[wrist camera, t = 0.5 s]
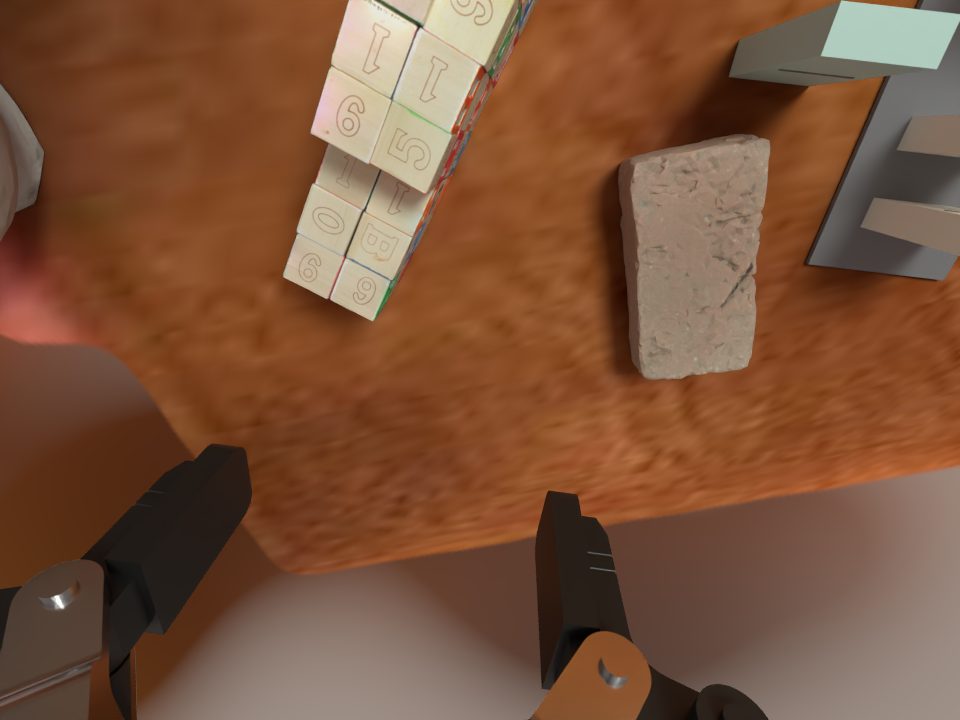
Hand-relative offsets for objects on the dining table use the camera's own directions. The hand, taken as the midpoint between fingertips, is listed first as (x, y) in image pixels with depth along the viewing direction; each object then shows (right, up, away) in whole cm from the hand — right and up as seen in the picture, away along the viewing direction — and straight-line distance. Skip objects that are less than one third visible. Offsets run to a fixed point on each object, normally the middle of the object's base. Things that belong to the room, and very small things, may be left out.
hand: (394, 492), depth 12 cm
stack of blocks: (-2, +20, +20) cm, 28 cm away
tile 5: (+32, +14, +20) cm, 40 cm away
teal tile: (+21, +22, +17) cm, 35 cm away
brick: (+18, +11, +23) cm, 31 cm away
